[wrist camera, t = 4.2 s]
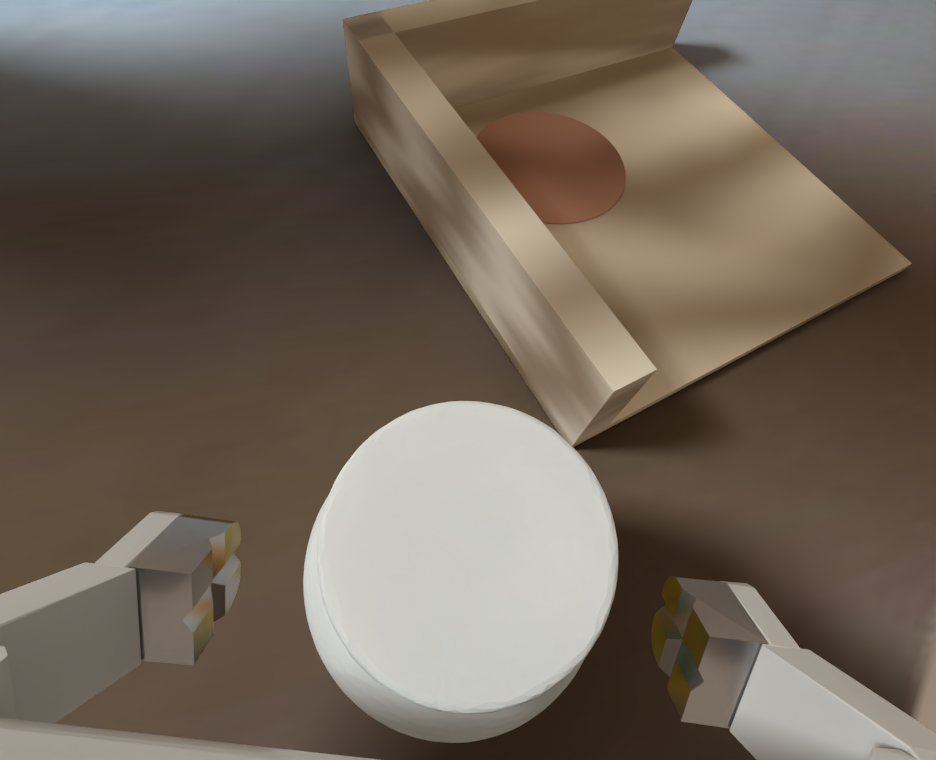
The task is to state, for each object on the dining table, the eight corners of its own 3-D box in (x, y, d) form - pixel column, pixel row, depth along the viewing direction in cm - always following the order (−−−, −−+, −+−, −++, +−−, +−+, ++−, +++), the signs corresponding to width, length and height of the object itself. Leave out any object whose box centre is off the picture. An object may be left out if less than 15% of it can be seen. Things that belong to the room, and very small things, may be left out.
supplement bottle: (345, 514, 16) (266, 366, 8) (514, 495, 17) (612, 341, 8) (351, 719, 14) (243, 834, 5) (547, 687, 15) (731, 741, 6)
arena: (354, 122, 24) (342, 19, 20) (651, 41, 30) (688, -54, 26) (569, 449, 18) (613, 391, 14) (902, 270, 23) (1004, 191, 19)
